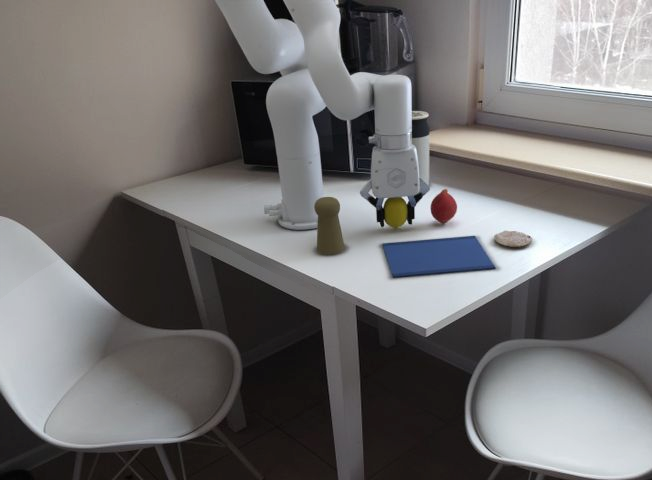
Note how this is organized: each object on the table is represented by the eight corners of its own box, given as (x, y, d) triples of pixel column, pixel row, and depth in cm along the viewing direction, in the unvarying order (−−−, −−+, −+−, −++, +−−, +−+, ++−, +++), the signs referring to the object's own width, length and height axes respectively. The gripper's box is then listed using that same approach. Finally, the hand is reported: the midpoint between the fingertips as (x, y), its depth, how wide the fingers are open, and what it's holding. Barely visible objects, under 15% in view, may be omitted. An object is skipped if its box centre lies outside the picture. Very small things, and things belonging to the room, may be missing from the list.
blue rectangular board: (392, 278, 118) (392, 276, 118) (382, 244, 131) (382, 243, 131) (495, 268, 119) (495, 267, 119) (474, 237, 133) (474, 235, 133)
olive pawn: (322, 257, 127) (317, 205, 121) (312, 247, 132) (307, 196, 126) (349, 251, 129) (345, 200, 123) (339, 241, 134) (335, 191, 128)
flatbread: (538, 244, 128) (539, 240, 127) (506, 251, 126) (507, 246, 125) (517, 231, 134) (518, 226, 134) (486, 237, 132) (487, 232, 131)
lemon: (406, 234, 136) (405, 199, 131) (381, 233, 137) (380, 198, 132) (409, 225, 140) (409, 190, 136) (385, 224, 141) (384, 190, 137)
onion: (439, 230, 137) (440, 195, 132) (425, 222, 141) (425, 188, 137) (461, 225, 139) (462, 190, 135) (447, 217, 143) (447, 183, 139)
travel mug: (409, 192, 159) (408, 119, 149) (393, 184, 165) (391, 113, 155) (435, 186, 162) (435, 114, 152) (418, 178, 168) (417, 109, 158)
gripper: (353, 148, 124) (358, 233, 134) (438, 142, 125) (437, 226, 135) (350, 139, 130) (355, 220, 140) (431, 133, 132) (430, 214, 141)
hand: (395, 222), depth 138 cm, fingers closed on lemon, 5 cm apart
